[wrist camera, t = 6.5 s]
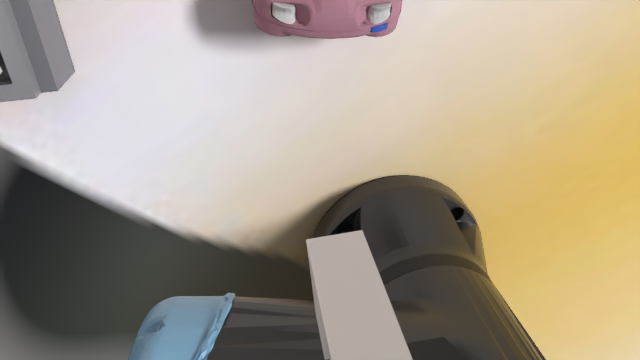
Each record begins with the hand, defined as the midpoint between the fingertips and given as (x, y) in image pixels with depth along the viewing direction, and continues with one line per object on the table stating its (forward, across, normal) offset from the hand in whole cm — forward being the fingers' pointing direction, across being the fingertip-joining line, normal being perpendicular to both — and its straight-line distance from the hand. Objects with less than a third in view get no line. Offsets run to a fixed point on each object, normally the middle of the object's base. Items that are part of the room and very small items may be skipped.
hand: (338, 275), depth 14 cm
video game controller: (+26, -4, -4) cm, 27 cm away
